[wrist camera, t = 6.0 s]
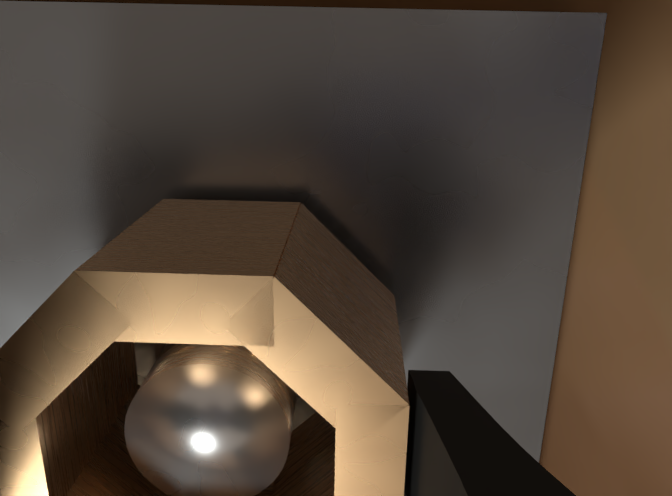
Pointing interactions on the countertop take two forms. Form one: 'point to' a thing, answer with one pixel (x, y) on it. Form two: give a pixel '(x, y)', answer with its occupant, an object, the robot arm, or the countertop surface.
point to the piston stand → (305, 188)
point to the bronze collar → (212, 329)
